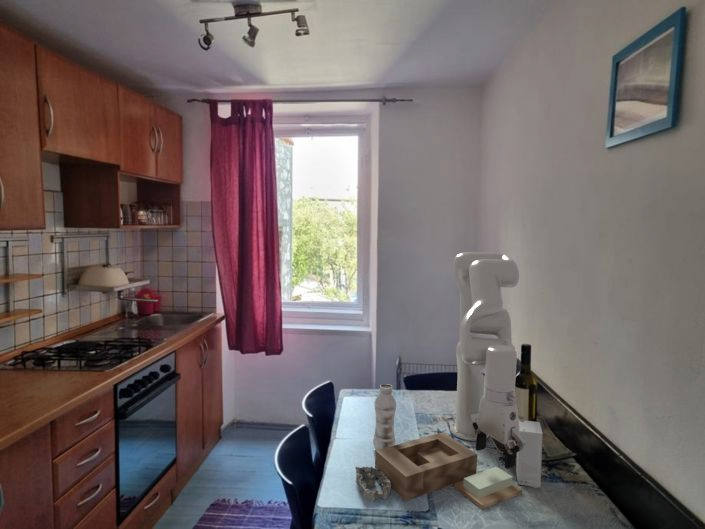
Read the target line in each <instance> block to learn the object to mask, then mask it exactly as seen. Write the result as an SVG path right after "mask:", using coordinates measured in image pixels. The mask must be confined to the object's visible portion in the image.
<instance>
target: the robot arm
mask: <svg viewBox="0 0 705 529" xmlns="http://www.w3.org/2000/svg"><path fill="white" fill-rule="evenodd" d="M452 268H453V275H454V279H455V282H456V285H457V288H458V291H459V322H460V324H459V325H460V326H459V333H458V334H459V341H458V342H457V344H456V347H455V348H456V349H455V352H456V353H455V354H456V365H457V382H456V384H457V385H456V402H455V421H454V422H452V423H451V424H450V427H449V429H450V430H449V431H450V432H451V434H452V435H453V436H455V437H457V438H458V439H461V440H465V441H470V442H476V443H475V450H476V451H478V452H479V451H482V450H485V449H487V440H488V438H493V439H494V440H495V441H497V442H499V443H501V444H503V445H504V447H505V449H506V452H505V455H504V468H505V469H506V470H508V469H511V468H513V467H516V458H517V452H519V451H520V450H522V449H523V447H524V445H525V444H526V441H525V440H524V438H523V437H522V436H521V435H520V434H519V420H520V419H519V411H518V405H517V403H516V402H517V400H518V398H517V396H515V391H516V390H515V389H516V388H515V387H516V376H517V374H516V373H517V360H518V358H517V356H518V353H517V351H516V348H515V345H513V343H512V340H513V339H512V323H511V316H510V313H509V311H508V309H506V308H504V307H503V306H504V303H503V296H502V290H501V288H514V287H516V286H517V285H518V283H519V280H520V270H519V267H518V265H517V263H516V261H515V260H514V259H513V258H512V257H510V256H509V255H508V254H506V253H503V252H484V251H483V252H481V251H467V252H466V251H465V252H460V253H458V254H456V255H455V257H454V258H453V267H452ZM472 335H477V336H478V335H480V337H479V336H478V337H477V336H475V337H473V336H472ZM481 336H493V337H481ZM481 370H484V374H483V373H482V372H481Z"/></svg>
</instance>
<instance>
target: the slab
mask: <svg viewBox="0 0 705 529" xmlns="http://www.w3.org/2000/svg"><path fill="white" fill-rule="evenodd" d="M513 480H514V479H513V476H512V475H511V474H509V473H507V472H506V471H505V470H503V469H501V468H500V467H498V466H494V467H492V468H489V469H486V470H482V471H480V472H476V474H474V475H471V476H468V477H466V478H464V483H463V487H464V488H465V489H467V490H468V491H469V492H471V493H472V494H473V495H475V496H476V497H477V498H481V497H484V496H487V495H489V494H492V493H494V492H497V491H499V490H502V489H504V488H507V487H510V486H512V483H513Z"/></svg>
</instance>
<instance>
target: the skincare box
mask: <svg viewBox="0 0 705 529" xmlns="http://www.w3.org/2000/svg"><path fill="white" fill-rule="evenodd" d="M542 429H543V428H542V426H541V423H540V422H539V421H531V420H525V419H523V420H522V419H519V434H520V435H521V436H522V437H523V438H524V440H525V441H526V444H525V445H524V447H523V449H522V450H520V451H519V452H517V453H516V463H515V470H516V471H515V472H516V473H515V474H516V479H517V484H518V485H521V486H527V487H530V488H534V489H541V485H542V484H541V481H542V478H541V476H542V475H541V474H542V453H543V433H544V432H543V430H542Z"/></svg>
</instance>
